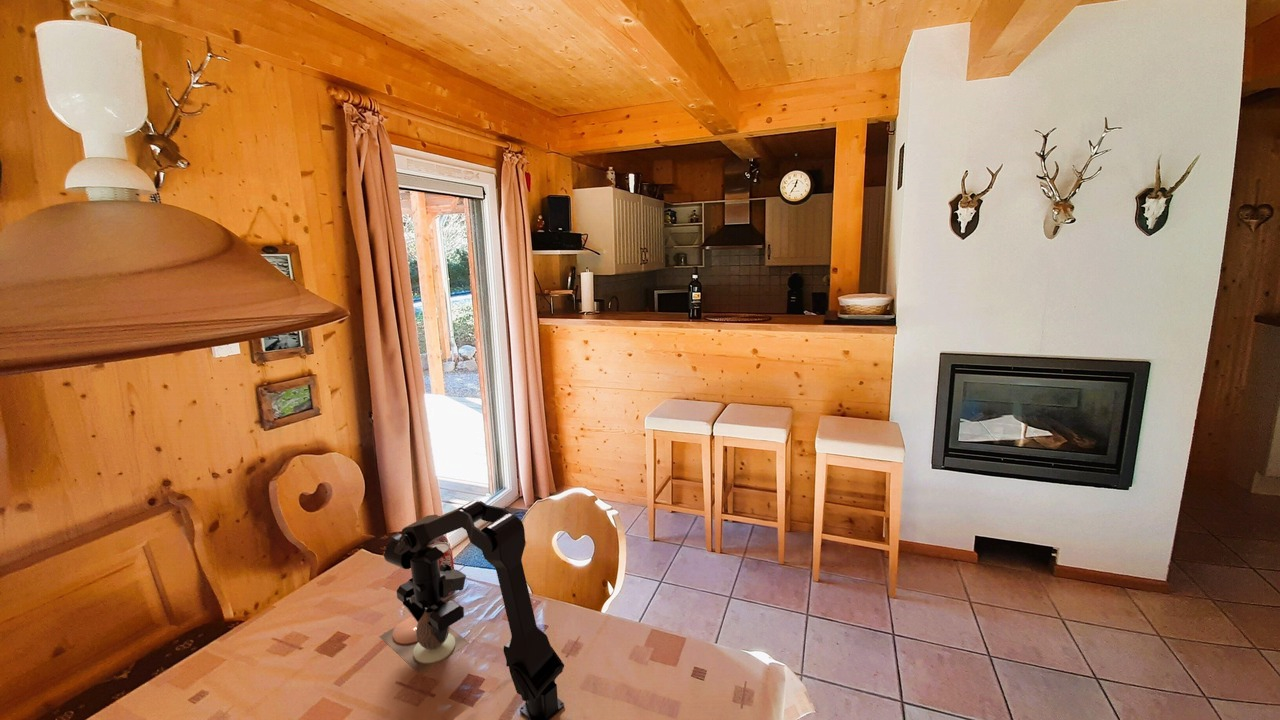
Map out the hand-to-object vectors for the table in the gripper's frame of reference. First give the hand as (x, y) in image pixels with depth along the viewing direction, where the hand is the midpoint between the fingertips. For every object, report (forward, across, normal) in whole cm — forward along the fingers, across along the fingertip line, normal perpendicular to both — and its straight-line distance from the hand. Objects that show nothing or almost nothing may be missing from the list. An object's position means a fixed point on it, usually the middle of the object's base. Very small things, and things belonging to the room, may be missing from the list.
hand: (433, 634), depth 119 cm
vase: (+2, 0, 0) cm, 2 cm away
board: (+5, +5, 0) cm, 7 cm away
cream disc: (+4, 0, 0) cm, 4 cm away
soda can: (+5, +19, -13) cm, 23 cm away
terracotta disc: (+4, +10, 0) cm, 10 cm away
